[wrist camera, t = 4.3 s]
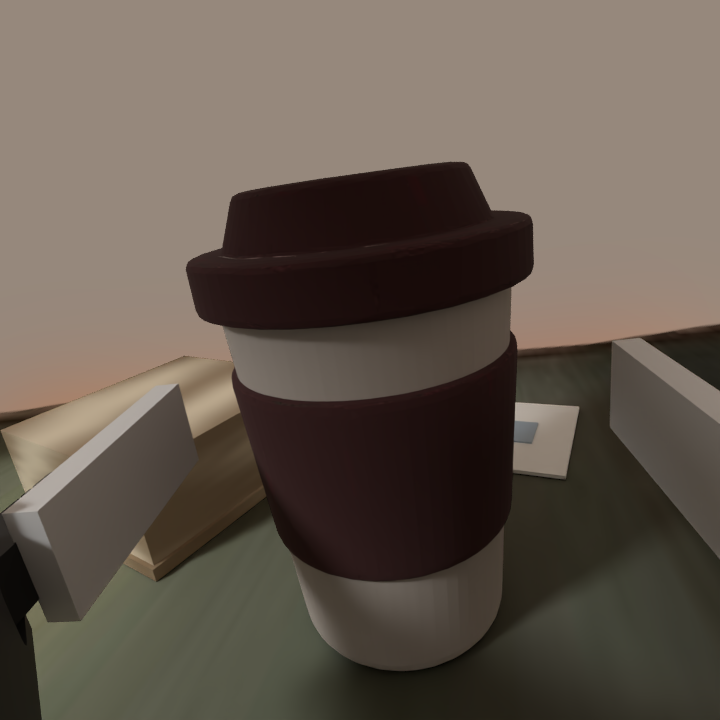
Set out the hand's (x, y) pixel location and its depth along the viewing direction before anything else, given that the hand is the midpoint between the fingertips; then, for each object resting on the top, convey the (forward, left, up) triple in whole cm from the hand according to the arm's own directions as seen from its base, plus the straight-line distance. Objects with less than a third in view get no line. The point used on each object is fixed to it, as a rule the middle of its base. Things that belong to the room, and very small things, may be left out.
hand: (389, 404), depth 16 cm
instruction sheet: (-3, +14, -8) cm, 16 cm away
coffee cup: (-1, +1, -9) cm, 9 cm away
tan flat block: (-17, +3, -8) cm, 19 cm away
